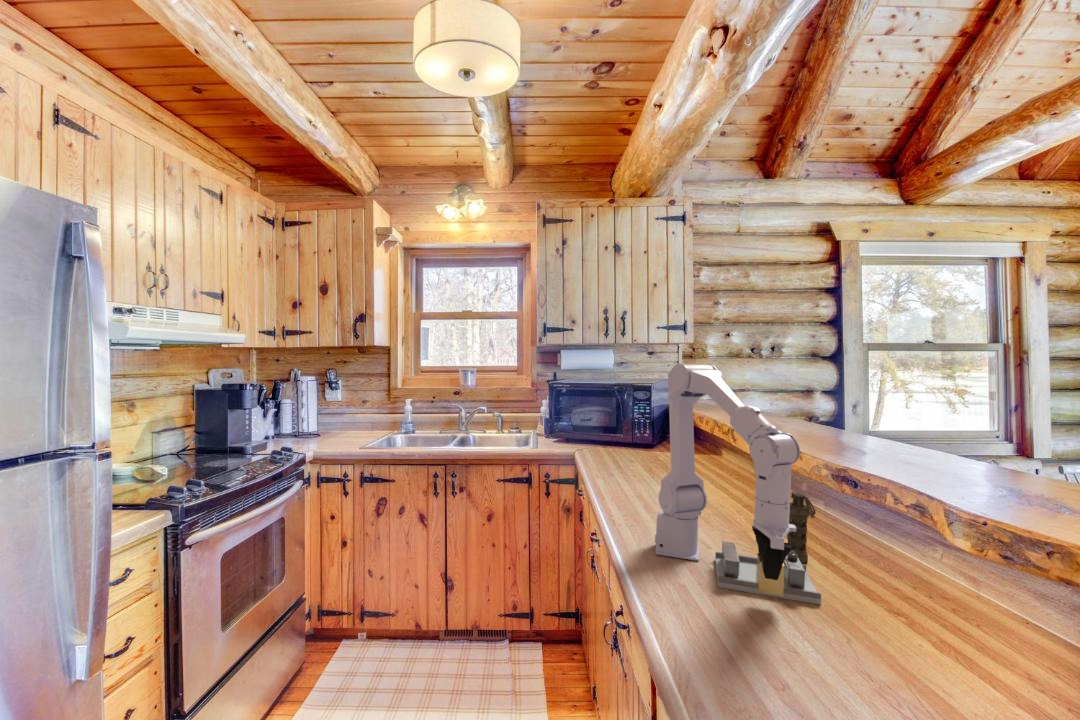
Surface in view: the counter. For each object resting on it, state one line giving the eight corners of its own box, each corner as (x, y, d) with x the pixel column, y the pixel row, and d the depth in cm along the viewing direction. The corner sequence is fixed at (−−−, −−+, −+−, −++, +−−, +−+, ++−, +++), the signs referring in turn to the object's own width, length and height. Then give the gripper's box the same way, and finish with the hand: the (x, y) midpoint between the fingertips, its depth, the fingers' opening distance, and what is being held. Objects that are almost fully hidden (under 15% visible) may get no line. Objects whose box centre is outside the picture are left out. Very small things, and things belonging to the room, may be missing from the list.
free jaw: (788, 588, 91) (789, 563, 91) (779, 566, 100) (780, 543, 100) (804, 591, 90) (805, 565, 90) (793, 568, 99) (794, 545, 99)
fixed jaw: (724, 579, 94) (725, 560, 94) (721, 559, 104) (722, 541, 104) (739, 582, 93) (739, 562, 93) (735, 561, 103) (735, 543, 103)
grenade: (815, 568, 103) (818, 500, 102) (785, 562, 105) (788, 496, 105) (812, 553, 111) (814, 490, 110) (784, 548, 113) (786, 486, 113)
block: (758, 591, 85) (760, 561, 85) (755, 581, 89) (757, 552, 89) (783, 596, 84) (784, 565, 84) (779, 585, 88) (780, 556, 87)
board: (718, 587, 93) (718, 577, 93) (715, 559, 106) (715, 551, 106) (820, 604, 88) (821, 594, 88) (805, 573, 100) (805, 564, 100)
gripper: (805, 515, 78) (802, 596, 78) (789, 491, 92) (786, 559, 92) (759, 509, 80) (755, 588, 80) (749, 486, 94) (747, 553, 94)
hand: (769, 572), depth 86 cm, fingers closed on block, 4 cm apart
